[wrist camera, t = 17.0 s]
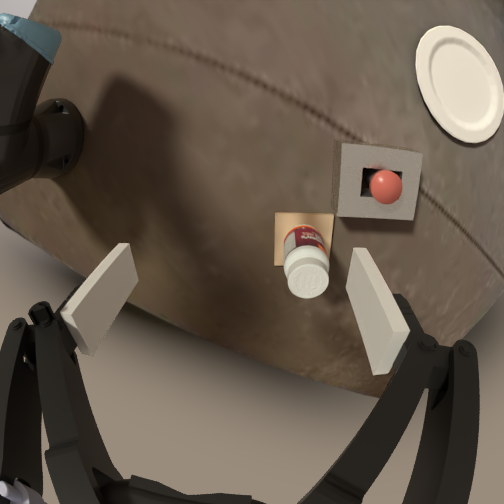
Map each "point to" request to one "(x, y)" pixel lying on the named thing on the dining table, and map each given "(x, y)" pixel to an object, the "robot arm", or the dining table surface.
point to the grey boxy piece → (360, 199)
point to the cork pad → (293, 219)
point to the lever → (384, 185)
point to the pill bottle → (305, 261)
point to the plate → (459, 83)
